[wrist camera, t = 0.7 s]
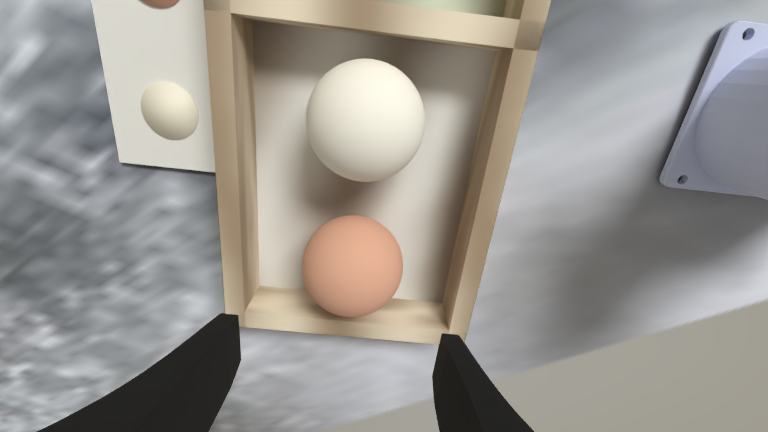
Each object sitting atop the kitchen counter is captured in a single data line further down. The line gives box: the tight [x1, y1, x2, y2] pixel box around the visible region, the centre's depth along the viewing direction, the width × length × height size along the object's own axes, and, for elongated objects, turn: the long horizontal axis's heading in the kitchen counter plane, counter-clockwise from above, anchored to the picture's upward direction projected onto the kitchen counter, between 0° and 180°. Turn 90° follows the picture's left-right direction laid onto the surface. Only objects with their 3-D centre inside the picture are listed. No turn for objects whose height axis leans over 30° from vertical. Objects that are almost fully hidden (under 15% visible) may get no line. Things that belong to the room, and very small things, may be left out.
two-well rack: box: [203, 0, 551, 345], centre depth 15 cm, size 13×31×4 cm, turn 174°
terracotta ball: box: [302, 215, 403, 317], centre depth 18 cm, size 5×5×5 cm
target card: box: [91, 0, 216, 173], centre depth 17 cm, size 6×14×1 cm, turn 174°
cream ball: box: [306, 58, 425, 182], centre depth 15 cm, size 5×5×5 cm
